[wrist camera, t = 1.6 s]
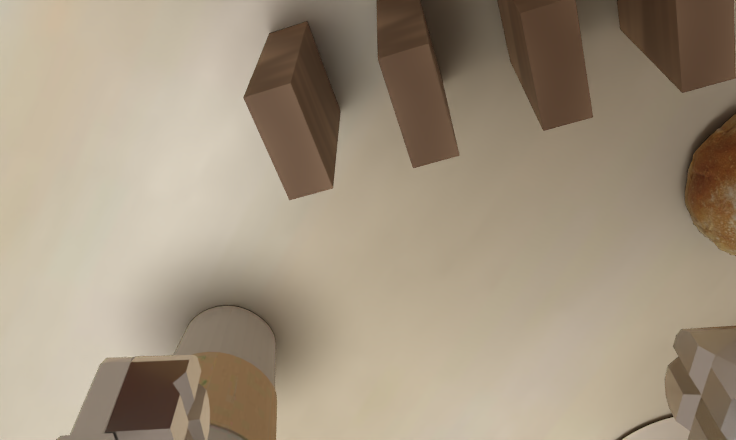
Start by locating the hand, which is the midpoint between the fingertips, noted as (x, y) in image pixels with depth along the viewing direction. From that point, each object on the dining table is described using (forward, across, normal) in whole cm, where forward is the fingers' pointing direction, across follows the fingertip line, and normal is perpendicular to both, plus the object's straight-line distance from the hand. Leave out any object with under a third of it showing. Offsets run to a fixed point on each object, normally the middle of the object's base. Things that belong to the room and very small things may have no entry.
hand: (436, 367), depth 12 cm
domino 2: (+25, -1, +3) cm, 25 cm away
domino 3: (+24, -7, +1) cm, 25 cm away
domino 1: (+25, +4, +4) cm, 25 cm away
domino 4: (+24, -12, 0) cm, 27 cm away
